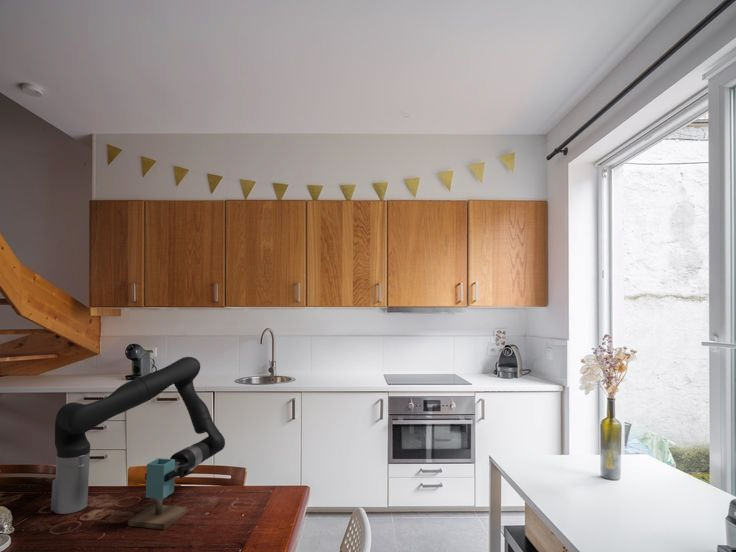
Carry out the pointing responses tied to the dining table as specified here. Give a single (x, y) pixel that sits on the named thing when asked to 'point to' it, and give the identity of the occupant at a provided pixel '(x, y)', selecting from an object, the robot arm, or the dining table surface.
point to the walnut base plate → (157, 517)
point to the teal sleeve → (159, 478)
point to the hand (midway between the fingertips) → (155, 477)
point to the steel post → (158, 506)
